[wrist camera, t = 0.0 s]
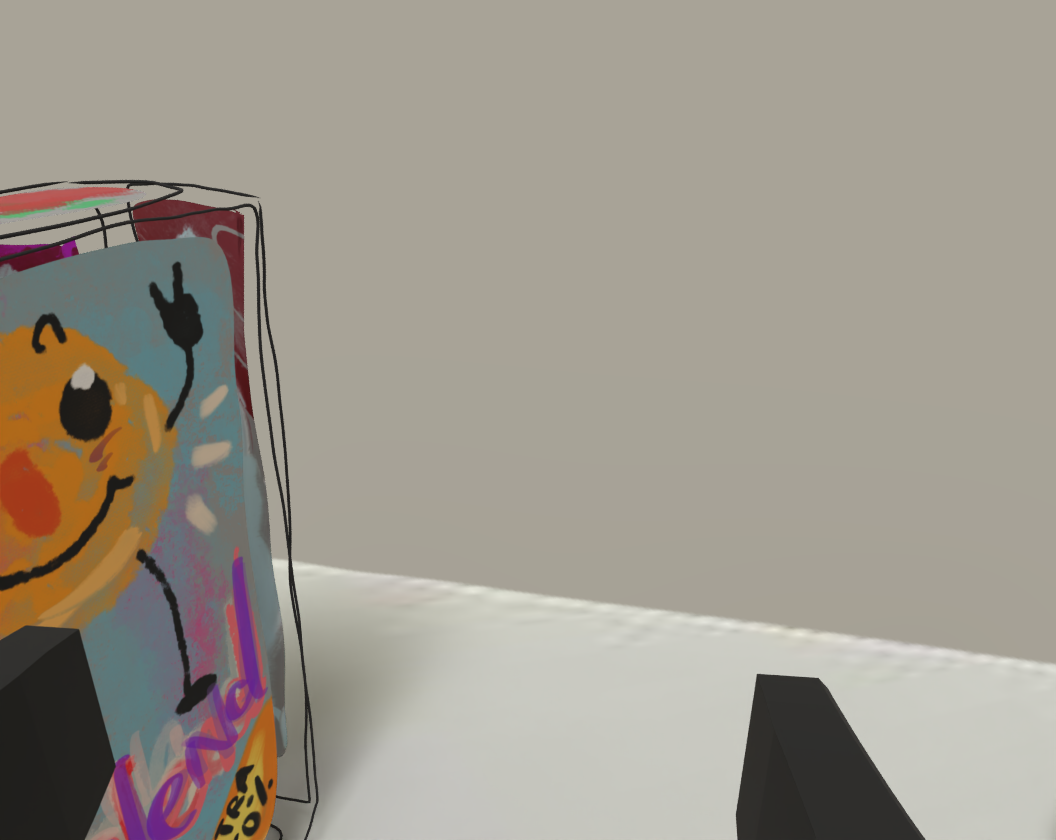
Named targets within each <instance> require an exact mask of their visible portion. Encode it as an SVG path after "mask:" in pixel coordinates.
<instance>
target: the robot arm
mask: <svg viewBox="0 0 1056 840" xmlns="http://www.w3.org/2000/svg"><path fill="white" fill-rule="evenodd" d="M115 768H116V764H115V760H114V757H113V753H112V749H111V746H110V742H109V738H108V734H107V731H106V727H105V723H104V720H103V716H102V712H101V708H100V705H99V701H98V697H97V694H96V690H95V686H94V682H93V679H92V675H91V671H90V668H89V664H88V660H87V656H86V653H85V649H84V645H83V642H82V638H81V634H80V630H79V629H74V628H59V627H44V626H29V625H25V626H23V627H22V628H20V629H18V630H17V631H15V632H13V633H11V634H10V635H8V636H6V637H5V638H3V639H1V640H0V840H85V838H86V836H87V834H88V832H89V829H90V827H91V825H92V823H93V821H94V818H95V816H96V814H97V811H98V809H99V807H100V804H101V802H102V799H103V797H104V794H105V792H106V790H107V787H108V785H109V782H110V780H111V778H112V775H113V773H114V770H115ZM736 824H737V839H738V840H925V838H924V837H923V836H922V834H921V833H920V831H919V830H918V828H917V827H916V826H915V824H914V823H913V821H912V820H911V819H910V817H909V816H908V814H907V813H906V811H905V810H904V808H903V807H902V805H901V804H900V803H899V801H898V800H897V798H896V797H895V795H894V794H893V792H892V791H891V789H890V788H889V786H888V785H887V783H886V781H885V780H884V778H883V777H882V775H881V774H880V772H879V771H878V769H877V768H876V766H875V765H874V763H873V762H872V760H871V759H870V757H869V755H868V754H867V752H866V751H865V749H864V747H863V746H862V744H861V743H860V741H859V740H858V738H857V736H856V735H855V733H854V731H853V730H852V728H851V727H850V725H849V723H848V722H847V720H846V718H845V717H844V715H843V713H842V712H841V710H840V708H839V707H838V705H837V703H836V702H835V700H834V698H833V697H832V695H831V693H830V691H829V690H828V688H827V687H826V686H825V685H824V684H823V683H822V681H821V680H820V679H819V678H810V677H795V676H780V675H765V674H757V678H756V684H755V691H754V698H753V704H752V711H751V718H750V724H749V731H748V738H747V744H746V751H745V758H744V764H743V771H742V778H741V784H740V791H739V798H738V804H737V811H736Z"/></svg>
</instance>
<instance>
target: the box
mask: <svg viewBox="0 0 1056 840" xmlns="http://www.w3.org/2000/svg"><path fill="white" fill-rule="evenodd" d="M58 183H63V182H51V183H42V184H35V185H29V186H24V187H18V188H12V189H7V190H1V191H0V194H2V193H8V192H14V191H19V190H25V189H31V188H37V187H43V186H48V185H53V184H58ZM71 183H77V184H112V183H113V184H115V183H131V184H128V185H127V187H126V188H108V187H107V188H106V187H83V188H81V187H80V188H57V189H46V190H38V191H31V192H25V193H20V194H14V195H8V196H3V197H0V224H2V223H8V222H14V221H21V220H27V219H33V218H39V217H46V216H52V215H58V214H65V213H71V212H77V211H83V210H89V209H95V210H96V212H97V213H98V215H97V216H92V217H88V218H84V219H79V220H75V221H70V222H66V223H61V224H56V225H51V226H46V227H41V228H36V229H30V230H26V231H20V232H15V233H9V234H4V235H0V239H5V238H10V237H15V236H21V235H26V234H31V233H36V232H41V231H46V230H51V229H56V228H61V227H66V226H70V225H74V224H79V223H83V222H87V221H91V220H95V219H100V221H101V225H102V227H101V228H98V229H95V230H91V231H88V232H85V233H83V234H80V235H77V236H73V237H71V238H68V239H65V240H62V241H59V242H56V243H53V244H39V245H38V244H37V245H0V640H1V639H3V638H5V637H6V636H8V635H10V634H11V633H13V632H15V631H17V630H18V629H20V628H22V627H23V626H25V625H29V626H44V627H59V628H74V629H79V630H80V634H81V638H82V642H83V645H84V649H85V653H86V656H87V660H88V664H89V668H90V671H91V675H92V679H93V682H94V686H95V690H96V694H97V697H98V701H99V705H100V708H101V712H102V716H103V720H104V723H105V727H106V731H107V734H108V738H109V742H110V746H111V749H112V753H113V757H114V760H115V764H116V768H115V770H114V773H113V775H112V778H111V780H110V782H109V785H108V787H107V790H106V792H105V794H104V797H103V799H102V802H101V804H100V807H99V809H98V811H97V814H96V816H95V818H94V821H93V823H92V825H91V827H90V829H89V832H88V834H87V836H86V838H85V840H265V838H266V835H267V833H268V830H269V827H270V826H271V827H273V828H275V829H276V830H277V831H279V833H280V839H279V840H282V836H283V835H282V832H281V830H280V829H279V828H278V827H276V826H274V825H272V824H271V821H272V817H273V813H274V806H275V799H276V798H279V799H284V800H290V801H296V802H301V803H310V801H311V797H310V786H309V776H308V761H307V719H308V713H309V721H310V732H311V743H312V755H313V770H314V781H315V789H316V804H315V807H314V810H313V813H312V817H311V821H310V825H309V828H308V831H307V834H306V836H305V839H304V840H307V837H308V834H309V832H310V829H311V826H312V822H313V818H314V814H315V810H316V807H317V804H318V799H319V796H318V786H317V778H316V765H315V751H314V739H313V728H312V718H311V710H310V703H309V697H308V690H307V683H306V673H305V665H304V656H303V645H302V632H301V621H300V613H299V606H298V601H297V595H296V589H295V582H294V575H293V567H292V559H291V509H290V494H289V479H288V465H287V452H286V441H285V430H284V421H283V413H282V404H281V394H280V384H279V374H278V366H277V360H276V354H275V350H274V345H273V340H272V336H271V331H270V325H269V318H268V308H267V300H266V264H265V247H264V235H263V219H262V209H261V205H260V203H259V206H260V208H259V216H258V212H257V209H256V207H254V206H253V205H251V204H243V205H239V206H235V207H228V208H215V207H210V206H204V205H200V204H195V203H191V202H186V201H179V200H165V199H167V198H170V197H173V196H176V195H178V194H180V193H182V192H183V189H182V188H179V187H175V186H189V187H196V188H201V189H206V190H213V191H220V192H225V193H230V194H235V195H240V196H246V197H256V196H252V195H248V194H244V193H239V192H234V191H228V190H223V189H217V188H210V187H204V186H200V185H195V184H181V183H159V182H155V181H147V180H105V181H81V182H71ZM142 185H160V186H163V187H166V188H170V189H175V190H179V191H177V192H175V193H172V194H169V195H166V196H163V197H161V198H158V199H154V200H148V201H143V202H140V203H137V204H136V205H135V206H134V207H130V201H134V200H137V199H140V198H143V197H144V196H145V195H146V193H144V192H142V191H138V190H133V189H129V187H130V186H142ZM126 202H127V207H128V208H127V209H123V210H119V211H115V212H111V213H106V214H101V213H100V211H99V210H98V208H101V207H106V206H112V205H117V204H122V203H126ZM243 207H251V208H253V210H254V212H255V216H256V223H257V228H256V244H255V256H256V270H257V271H256V272H257V314H258V336H259V352H260V363H261V371H262V379H263V387H264V394H265V401H266V408H267V416H268V423H269V431H270V438H271V447H272V454H273V460H274V466H275V471H276V476H277V481H278V486H279V491H280V496H281V502H282V508H283V516H284V524H285V532H286V540H287V548H288V556H289V586H290V594H291V600H292V607H293V612H294V618H295V623H296V628H297V633H298V639H299V645H300V652H301V661H302V670H303V678H304V689H305V735H304V750H305V766H306V779H307V790H308V801H304V800H299V799H292V798H287V797H281V796H277V795H276V787H277V757H280V756H282V755H283V754H284V752H285V750H286V747H287V729H286V717H285V698H284V680H285V648H284V635H283V626H282V619H281V613H280V607H279V601H278V595H277V590H276V584H275V578H274V572H273V565H272V557H271V544H270V525H269V513H268V502H267V493H266V485H265V477H264V471H263V466H262V460H261V455H260V450H259V444H258V439H257V434H256V429H255V423H254V417H253V410H252V403H251V395H250V386H249V376H248V368H247V357H246V348H245V338H244V215H241V214H239V213H240V212H239V213H238V211H236V210H235V209H239V208H243ZM229 210H235V211H236V213H234V212H232V211H229ZM131 211H133V218H134V220H133V219H132V214H131ZM125 212H128V213H129V218H130V220H129V221H124V222H120V223H115V224H111V225H107V226H105V225H104V221H103V218H104V217H109V216H113V215H117V214H121V213H125ZM259 219H260V225H259ZM126 224H131V226H132V230H133V234H134V237H135V240H136V242H133V243H127V244H122V245H118V246H113V247H109V248H108V246H107V237H106V229H110V228H113V227H117V226H122V225H126ZM134 224H135V227H134ZM135 228H136V230H135ZM259 228H260V234H261V245H262V259H263V297H264V306H265V317H266V324H267V329H268V334H269V339H270V344H271V348H272V353H273V359H274V365H275V372H276V379H277V380H276V381H277V391H278V401H279V410H280V418H281V427H282V438H283V447H284V460H285V474H286V487H287V502H288V521H289V535H288V527H287V518H286V511H285V504H284V498H283V493H282V487H281V482H280V477H279V472H278V467H277V461H276V455H275V448H274V440H273V432H272V424H271V417H270V410H269V403H268V396H267V389H266V380H265V373H264V365H263V364H264V363H263V354H262V341H261V319H260V318H261V317H260V273H259V258H258V244H259ZM100 231H103V235H104V245H105V248H104V249H100V250H96V251H91V252H87V253H83V254H79V253H78V249H77V246H76V243H75V240H76V239H79V238H82V237H85V236H88V235H91V234H94V233H97V232H100ZM136 232H137V234H136ZM137 236H138V237H137ZM138 239H139V240H138ZM61 244H64V245H63V246H59V245H61ZM292 586H293V590H292ZM293 592H294V597H293ZM294 598H295V603H294ZM295 604H296V610H297V615H296V610H295ZM297 617H298V621H297Z"/></svg>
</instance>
